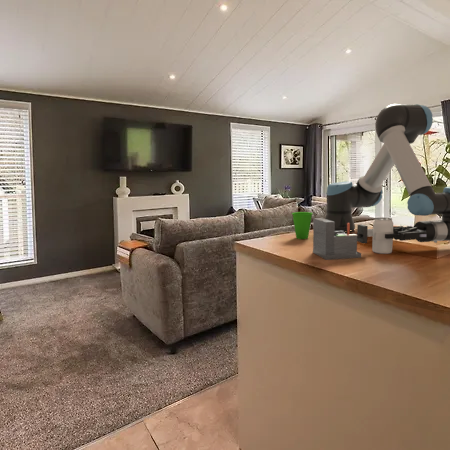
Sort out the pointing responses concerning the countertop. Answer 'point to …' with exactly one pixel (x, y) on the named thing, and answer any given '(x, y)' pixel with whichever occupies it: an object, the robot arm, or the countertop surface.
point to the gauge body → (333, 241)
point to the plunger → (359, 232)
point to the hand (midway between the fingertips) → (369, 234)
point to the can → (382, 226)
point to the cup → (302, 224)
